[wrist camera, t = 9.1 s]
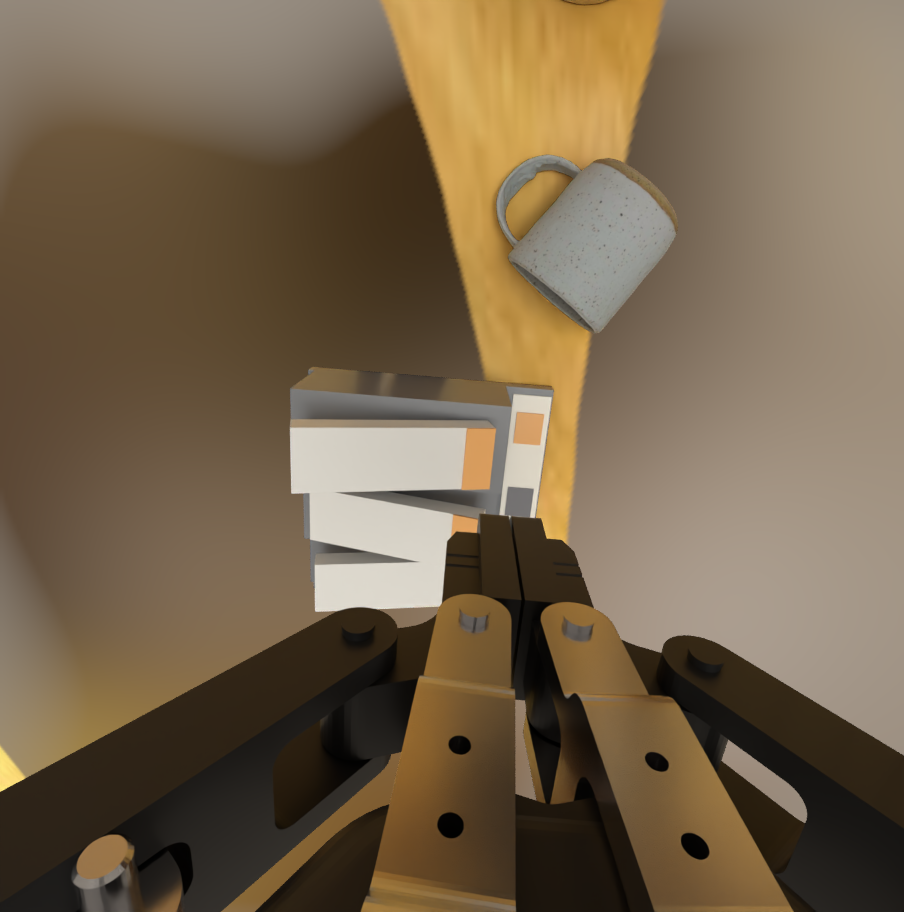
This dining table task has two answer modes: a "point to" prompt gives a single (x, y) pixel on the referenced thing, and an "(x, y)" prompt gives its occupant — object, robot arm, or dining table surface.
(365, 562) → the block
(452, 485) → the front rocker
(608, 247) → the ceramic mug
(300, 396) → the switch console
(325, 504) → the middle rocker
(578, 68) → the dining table surface
